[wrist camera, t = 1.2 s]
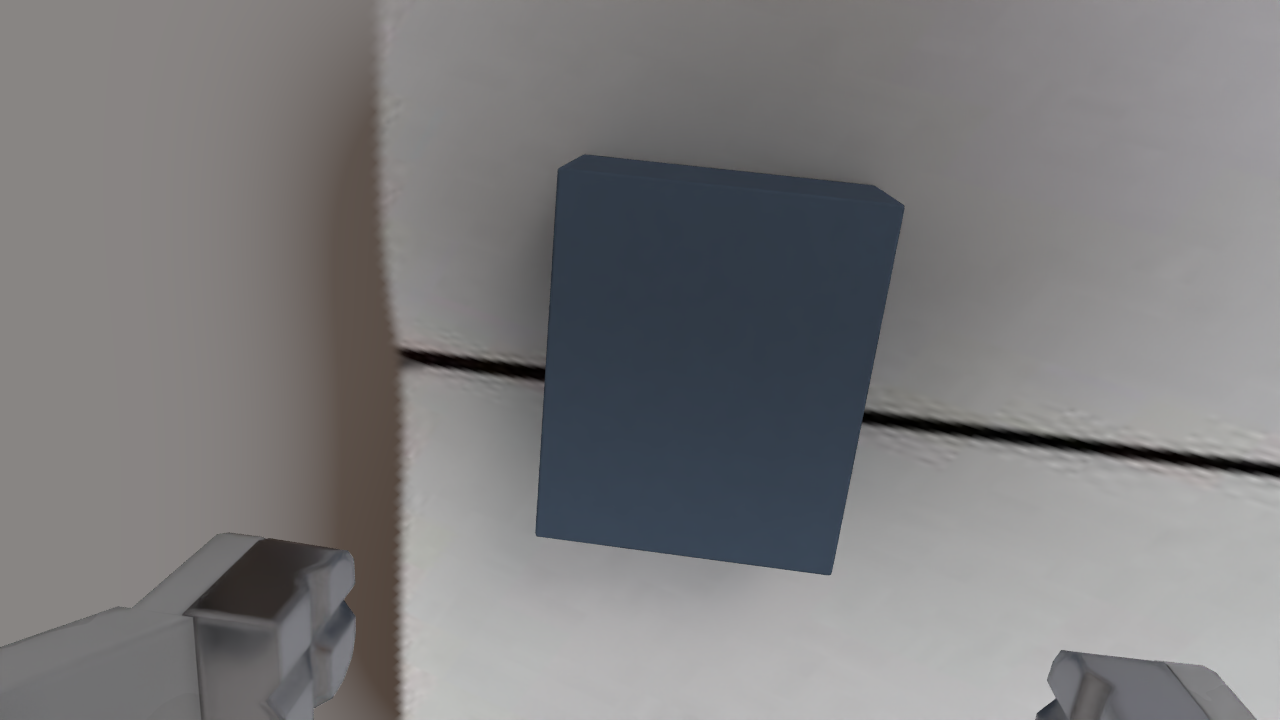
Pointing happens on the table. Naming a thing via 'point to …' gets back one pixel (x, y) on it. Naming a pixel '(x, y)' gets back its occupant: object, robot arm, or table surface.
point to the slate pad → (709, 358)
